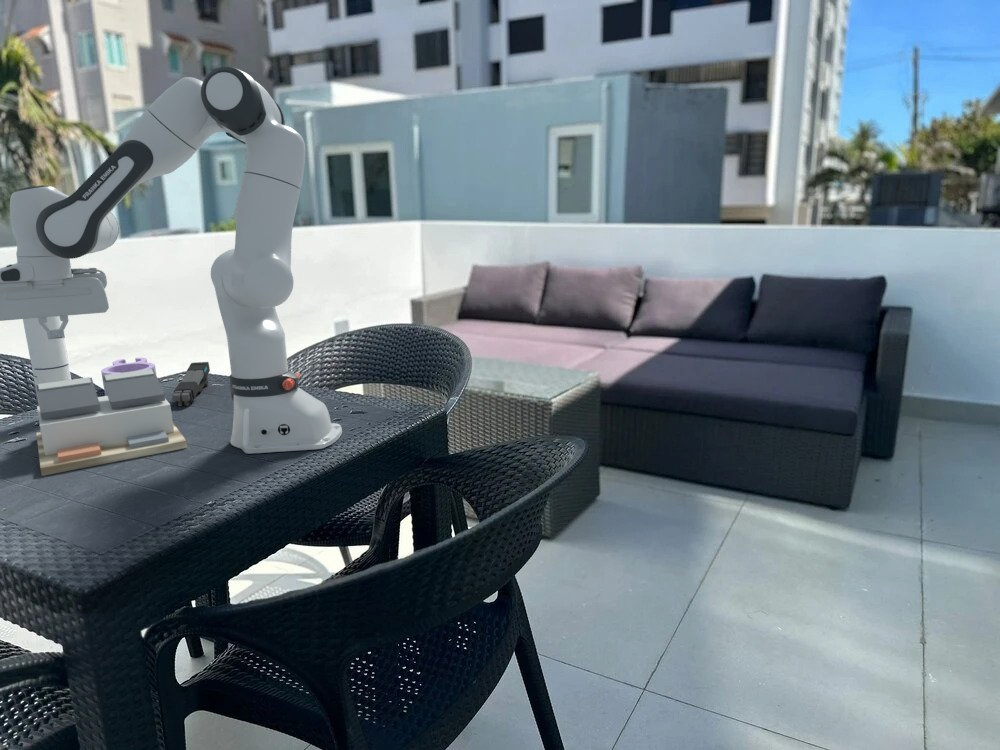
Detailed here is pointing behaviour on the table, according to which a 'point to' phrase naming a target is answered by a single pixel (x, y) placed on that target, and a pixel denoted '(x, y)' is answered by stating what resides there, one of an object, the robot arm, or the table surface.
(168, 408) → the switch unit
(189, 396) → the gun
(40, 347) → the cylindrical container
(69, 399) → the left rocker
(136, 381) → the right rocker
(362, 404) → the table surface
